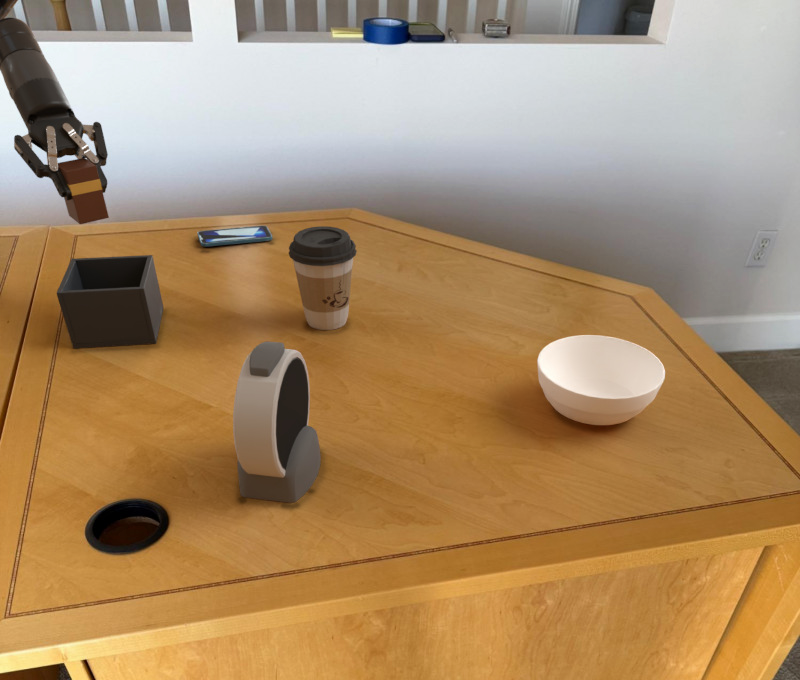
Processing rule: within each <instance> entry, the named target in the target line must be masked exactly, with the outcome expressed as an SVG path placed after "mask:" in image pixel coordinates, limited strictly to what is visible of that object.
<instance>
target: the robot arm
mask: <svg viewBox="0 0 800 680" xmlns="http://www.w3.org/2000/svg"><path fill="white" fill-rule="evenodd" d="M18 1H19V0H0V73H1V75H2V78H3V80H4V85H5V87H6V89H7V91H8V94H9V96H10V99H11V100H12V101H13V103H14V105H15V107H16V109H17V111H18V113H19V115H20V117H21V120H22V121H23V123H24V125H25V127H26V129H27V134H24V135H23V136H22V135H20V134H16V135H14V137H13V148H14V150H15V151H16V152H17V154H18V155H19V156H20V157H21V159H22V160H23V161H24V162H25V164H26V165H27V166H28V168H29V169H30V170H31V171H32V172H33V173H34V175H35V176H36V177H37V178H39V179H43V178H49V179H50V180H51V181H52V184H53V185H54V186H55V187H54V188H55V189H56V191H57V194H58V195H59V196H60V198H64V197H65V199H66V200H71V198H72V193H71V191H70V189H69V187H68V185H67V182H66V180H65V178H64V176H63V174H62V172H61V171H59V170H58V163H59V162H58V161H59V160H58V159H60V158H63V157H65V156H75V158H76V159H81V158H85V159H87V160H88V161H90V162H91V163H93V164H94V165H96V167H97V171H98V175H99V179H100V182H101V186H102V192H103V194H104V193H106V192H107V191H106V190H107V188H108V179H107V177H106V174H105V173H104V171H103V169H102V167H105V166H106V165H107V160H108V155H109V154H108V150H107V144H106V141H105V136H104V132H103V126H102V124H101V123H100V122H99V121H94V122H93V124H83V123H82V121H80V120H79V119H78V118H77V116H76V115H75V113H74V110H73V108H72V106H71V104H70V101H69V100H68V98H67V96H66V94H65V92H64V90H63V88H62V85H61V83H60V81H59V79H58V77H57V75H56V73H55V72H54V69H53V68H52V66H51V65H50V63H49V61H48V60H47V58H46V56H45V54H44V52H43V50H42V48H41V46H40V45H39V43H38V42H39V41H38V40H37V38H36V37H35V35H34V32H33V30H32V29H31V28H30V26H28V24H27V23H26V22H24V21H23V20H22V19H20V18H16V17H8V15H9V14H10V12H11V11H12V9H14V7H15V6H16V4H17V3H18ZM84 134H85V135H86V136H87V137H88V139H89V140H90V142H93V146H94V149H95V153H94V152H93V151H92V150H91V149H90V146H89V145H88V143H86V141H85V140H84V139H83V136H84ZM33 145H34V146H36V147H38V148H39V149H40V150H41V151H44V153H46V161H47V164H45V163H43V160H41V159H40V157H39V156H38V155H37V154H36V153H35V151H34V150H33ZM65 199H64V200H65Z"/></svg>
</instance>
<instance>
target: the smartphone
mask: <svg viewBox="0 0 800 680" xmlns="http://www.w3.org/2000/svg"><path fill="white" fill-rule="evenodd" d="M197 238H198V240H199V243H200V246H201V247H215V246H227V245H236V244H237V245H239V244H247V243H258V242H260V243H261V242H269V241H272V240H273V234H272V232H271V231H270V228H269V227H268V226H267V225H252V226H240V227H239V226H238V227H228V228H218V229H217V228H216V229H205V230H198V231H197Z"/></svg>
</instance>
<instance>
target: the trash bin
mask: <svg viewBox="0 0 800 680" xmlns="http://www.w3.org/2000/svg"><path fill="white" fill-rule="evenodd" d="M68 263H69V264H68V265H67V268H66V270H65V272H64V274H63V277H62V279H61V281H60V284H59V286H58V289H57V290H56V293H55V294H56V297H57V300H58V303H59V307H60V309H61V313H62V316H63V319H64V323H65V326H66V330H67V333H68V336H69V340H70V343H71V346H72V349H73V350H74V349H88V348H91V349H92V348H106V347H123V346H124V347H125V346H140V345H156V344H157V342H158V338H159V332H160V327H161V322H162V318H163V313H164V302H163V299H162V294H161V293H162V292H161V289H160V284H159V280H158V274H157V270H156V264H155V261H154V256H153V254H143V255H125V256H124V255H121V256H100V257H99V256H98V257H81V258H80V257H79V258H77V257H76V258H71V259H70V261H69V262H68Z"/></svg>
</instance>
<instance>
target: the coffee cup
mask: <svg viewBox="0 0 800 680" xmlns="http://www.w3.org/2000/svg"><path fill="white" fill-rule="evenodd" d="M356 248H357V245H356V243H355V242H354V240H352V239H351V235H350V234H349V232H347V231H346V230H344V229H342V228H340V227H335V226H327V225H326V226H325V225H324V226H323V225H322V226H321V225H320V226H319V225H318V226H311V227H306V228H304V229H301V230H299V231H298V232H296V233H295V234H294V236H293V239H292V241H291V242H290V244H289V245H288V250H289V251H288V255H289V258H290V259H291V260H292V262H293V267H294V271H295V276H296V280H297V284H298V289H299V294H300V300H301V304H302V308H303V312H304V317H305V320H306V323H307V325H308V326H309V327H310V328H312V329H314V330H319V331H332V330H336V329H340V328H342V327H344V326H345V325H346V324H347V321H348V318H349V311H350V310H349V309H350V299H351V287H352V276H353V266H354V257H356V256H357V252H358V250H357V249H356Z"/></svg>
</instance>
